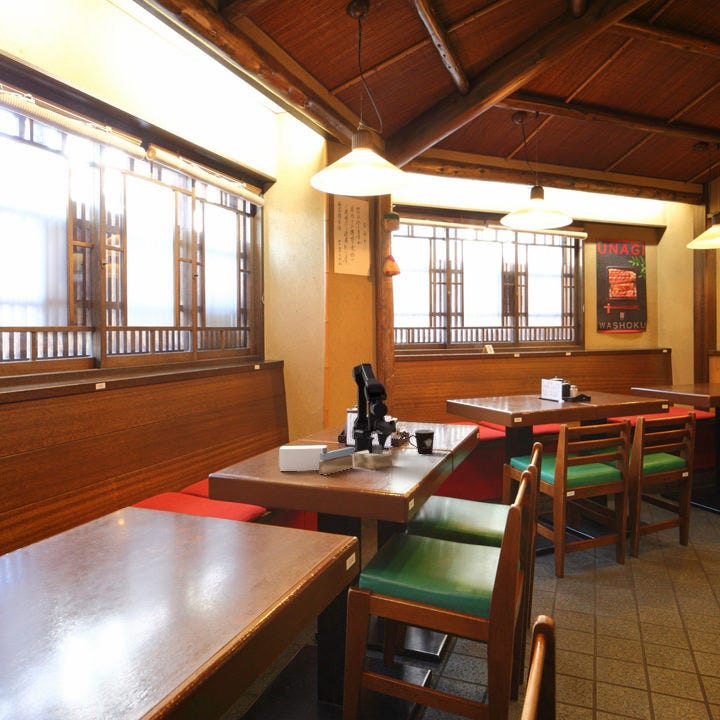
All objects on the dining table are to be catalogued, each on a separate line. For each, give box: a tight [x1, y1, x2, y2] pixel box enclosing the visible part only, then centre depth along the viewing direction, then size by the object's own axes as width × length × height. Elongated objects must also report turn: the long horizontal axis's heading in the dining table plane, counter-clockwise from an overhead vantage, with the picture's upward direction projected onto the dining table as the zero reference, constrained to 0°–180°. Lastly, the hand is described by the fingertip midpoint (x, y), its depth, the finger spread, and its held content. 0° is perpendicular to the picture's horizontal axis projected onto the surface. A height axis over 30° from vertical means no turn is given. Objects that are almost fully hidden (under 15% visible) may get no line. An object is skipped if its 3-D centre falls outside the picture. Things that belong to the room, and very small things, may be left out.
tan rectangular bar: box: [318, 454, 354, 476], centre depth 220 cm, size 3×15×5 cm, turn 133°
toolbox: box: [353, 454, 393, 471], centre depth 227 cm, size 12×10×4 cm
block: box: [320, 446, 355, 460], centre depth 220 cm, size 2×16×4 cm, turn 133°
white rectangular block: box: [277, 444, 328, 472], centre depth 224 cm, size 20×6×9 cm, turn 86°
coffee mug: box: [407, 429, 435, 455], centre depth 248 cm, size 12×9×10 cm
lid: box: [354, 443, 392, 459], centre depth 227 cm, size 12×10×5 cm
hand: (376, 452), depth 226 cm, fingers open, 6 cm apart
